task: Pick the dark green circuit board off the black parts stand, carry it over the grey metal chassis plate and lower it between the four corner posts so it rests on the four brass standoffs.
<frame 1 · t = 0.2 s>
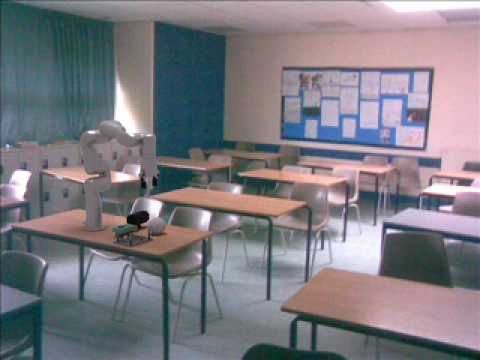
hand: (149, 187, 299), 31 cm above the table, tool pointing down, fingers open, 9 cm apart
eye model: (157, 234, 319), on the table
chassis: (133, 241, 301), on the table
stand: (124, 235, 313), on the table
board: (124, 230, 313), point 3 cm above the table, touching stand
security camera: (137, 229, 329), on the table
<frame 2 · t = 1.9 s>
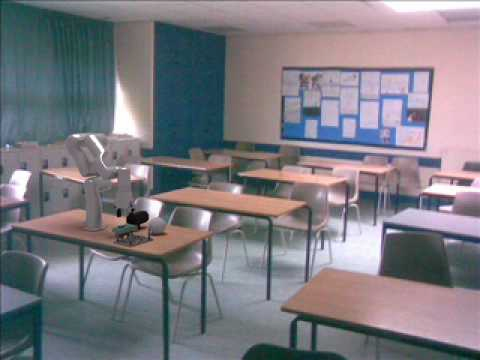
hand: (125, 218, 311), 11 cm above the table, tool pointing down, fingers open, 9 cm apart
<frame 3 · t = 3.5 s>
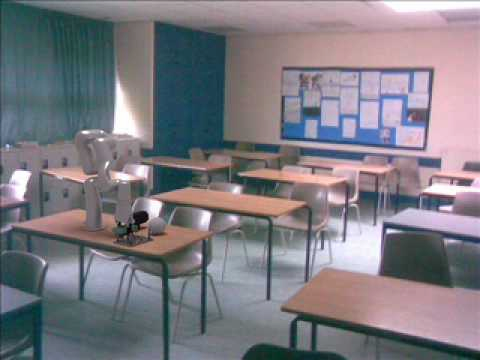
hand: (124, 232, 313), 2 cm above the table, tool pointing down, fingers closed on board, 7 cm apart
board: (124, 230, 313), point 3 cm above the table, touching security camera, gripper, stand
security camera: (136, 229, 328), on the table, touching board
everything else where it was.
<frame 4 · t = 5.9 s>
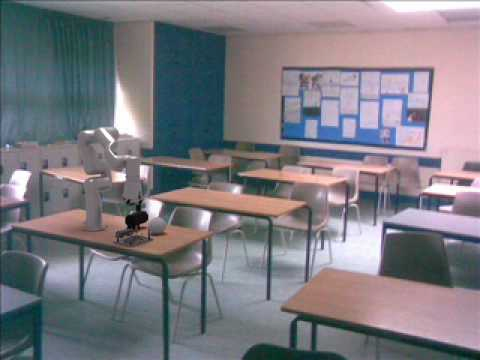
hand: (133, 210, 298), 18 cm above the table, tool pointing down, fingers closed on board, 7 cm apart
board: (133, 208, 298), point 19 cm above the table, touching gripper
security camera: (135, 230, 328), on the table
everything else where it was.
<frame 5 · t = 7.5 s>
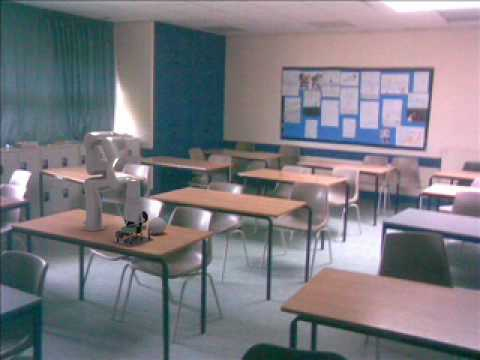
hand: (133, 232, 300), 6 cm above the table, tool pointing down, fingers closed on board, 7 cm apart
board: (133, 230, 300), point 6 cm above the table, touching gripper
when the fingers open (5 cm above the table, at t = 8.6 s): board drops 2 cm, resting on chassis.
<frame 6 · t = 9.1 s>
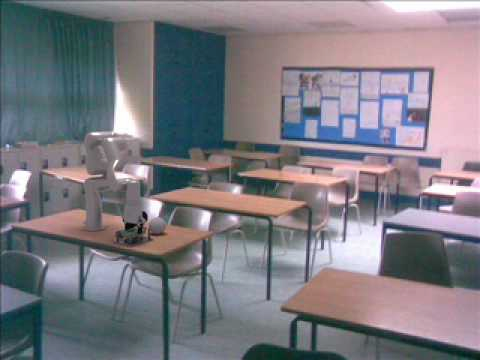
hand: (133, 232, 300), 5 cm above the table, tool pointing down, fingers open, 9 cm apart
board: (133, 234, 301), point 4 cm above the table, touching chassis
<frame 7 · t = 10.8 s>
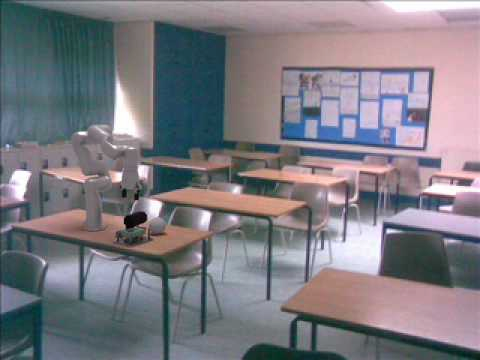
hand: (130, 198, 304), 23 cm above the table, tool pointing down, fingers open, 9 cm apart
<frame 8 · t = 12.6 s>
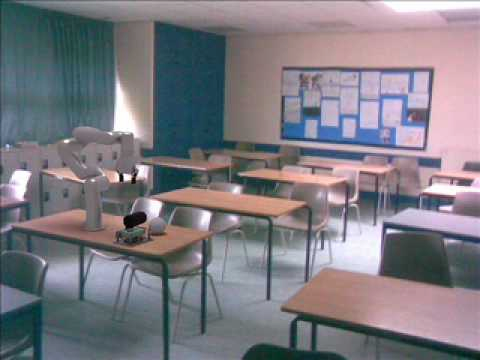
hand: (127, 182, 313), 30 cm above the table, tool pointing down, fingers open, 9 cm apart
at the end: board 0.1 cm off-centre on the chassis, point 4.0 cm above the chassis's base; board tilted 0°; the gripper is holding nothing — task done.
